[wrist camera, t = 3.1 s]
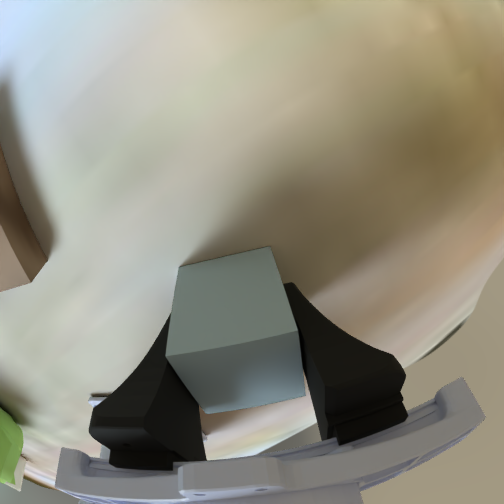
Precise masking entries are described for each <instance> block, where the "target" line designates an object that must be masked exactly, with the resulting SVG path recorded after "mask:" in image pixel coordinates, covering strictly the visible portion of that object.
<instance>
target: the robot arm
mask: <svg viewBox="0 0 504 504" xmlns="http://www.w3.org/2000/svg"><path fill="white" fill-rule="evenodd" d="M283 286H284V289H285V292H286V295H287V298H288V301H289V305H290V308H291V311H292V314H293V317H294V320H295V323H296V326H297V329H298V335H299V343H300V351H301V359H302V367H303V370H304V373H305V376H306V380H307V384H308V387H309V391H310V395H311V399H312V403H313V407H314V410H315V415H316V419H317V423H318V427H319V431H320V435H321V439H322V441H321V442H317V443H313V444H309V445H305V446H301V447H296V448H292V449H288V450H282V451H277V452H272V453H266V454H260V455H254V456H247V457H239V458H231V459H221V460H210V461H207V459H206V454H205V449H204V444H203V442H205V441H207V436H206V435H205V434H204V433H203V432H202V430H201V422H200V414H199V404H198V402H197V401H196V400H195V398H194V397H193V396H192V394H191V393H190V391H189V390H188V389H187V387H186V386H185V384H184V383H183V382H182V380H181V379H180V377H179V376H178V374H177V373H176V371H175V370H174V368H173V367H172V365H171V364H170V362H169V361H168V359H167V358H166V356H165V355H166V347H167V340H168V332H169V325H170V318H171V314H170V315H169V317H168V319H167V321H166V323H165V325H164V326H163V328H162V330H161V332H160V333H159V335H158V337H157V339H156V340H155V342H154V344H153V345H152V347H151V348H150V350H149V351H148V353H147V355H146V356H145V357H144V359H143V360H142V361H141V363H140V364H139V365H138V367H137V368H136V369H135V370H134V371H133V373H132V374H131V375H130V376H129V377H128V378H127V379H126V380H125V381H124V382H123V383H122V384H121V385H120V386H119V387H118V388H117V389H116V390H115V391H114V392H113V393H112V394H110V395H109V396H108V397H90V398H89V400H88V402H89V404H91V405H92V406H93V407H94V408H93V412H92V416H91V421H90V426H89V433H90V435H91V436H92V437H93V438H94V439H95V440H97V441H98V442H100V443H101V444H102V446H101V453H100V458H94V457H89V456H88V455H87V454H85V453H84V452H82V451H79V450H75V449H69V448H64V447H63V448H61V453H60V458H59V463H58V469H57V475H56V482H55V488H56V489H59V490H61V491H63V492H65V493H67V494H70V495H72V496H74V497H77V498H79V499H81V500H80V501H79V502H78V504H363V500H362V497H361V494H360V491H363V490H365V489H368V488H370V487H373V486H376V485H378V484H380V483H383V482H385V481H387V480H389V479H392V478H394V477H396V476H398V475H401V474H403V473H405V472H407V471H409V470H411V469H413V468H415V467H417V466H419V465H420V464H422V463H424V462H426V461H428V460H430V459H431V458H433V457H435V456H437V455H439V454H440V453H442V452H444V451H446V450H447V449H448V448H451V447H452V446H454V445H455V444H457V443H459V442H460V441H462V440H463V439H464V438H465V437H467V436H468V435H469V434H470V433H471V432H472V431H473V430H474V429H475V428H476V427H477V426H478V425H479V424H480V423H482V421H484V419H485V417H486V416H485V414H484V413H483V411H482V409H481V407H480V405H479V404H478V402H477V400H476V398H475V397H474V395H473V393H472V392H471V390H470V388H469V387H468V385H467V383H466V382H465V380H464V378H463V377H460V378H458V379H456V380H455V381H453V382H451V383H449V384H447V385H445V386H444V387H442V388H441V389H440V390H439V391H438V392H437V393H436V395H435V398H433V399H431V400H429V401H427V402H425V403H423V404H421V405H419V406H417V407H415V408H412V409H410V410H408V411H406V409H405V407H404V405H403V403H402V401H403V397H402V394H401V392H400V391H401V389H402V386H403V384H404V381H405V378H406V374H405V372H404V370H403V368H402V366H401V365H400V363H399V362H398V361H397V359H396V358H395V357H394V356H393V355H392V354H390V353H387V352H384V351H381V350H379V349H376V348H374V347H372V346H369V345H367V344H365V343H363V342H362V341H360V340H358V339H356V338H354V337H353V336H351V335H349V334H348V333H346V332H345V331H343V330H342V329H340V328H339V327H337V326H336V325H335V324H333V323H332V322H331V321H330V320H328V319H327V318H326V317H325V316H324V315H322V314H321V313H320V312H319V311H318V310H317V309H316V308H315V307H314V306H313V305H312V304H311V303H310V302H309V301H308V300H307V299H306V298H305V297H304V296H303V294H302V293H301V292H300V291H299V290H298V288H297V287H296V285H295V284H294V283H292V282H290V283H286V284H283Z"/></svg>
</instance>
